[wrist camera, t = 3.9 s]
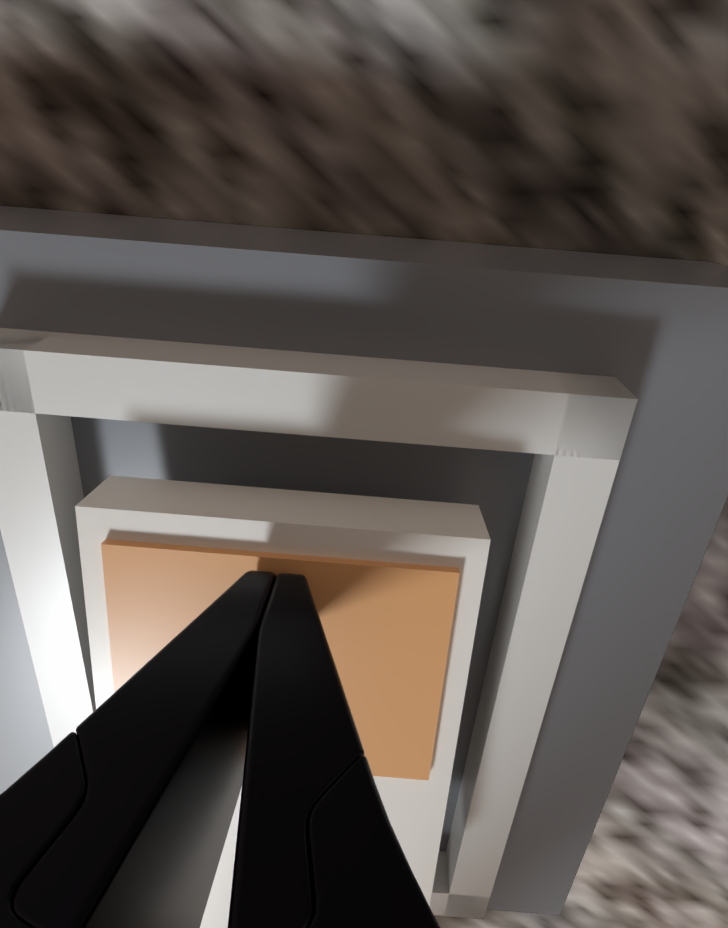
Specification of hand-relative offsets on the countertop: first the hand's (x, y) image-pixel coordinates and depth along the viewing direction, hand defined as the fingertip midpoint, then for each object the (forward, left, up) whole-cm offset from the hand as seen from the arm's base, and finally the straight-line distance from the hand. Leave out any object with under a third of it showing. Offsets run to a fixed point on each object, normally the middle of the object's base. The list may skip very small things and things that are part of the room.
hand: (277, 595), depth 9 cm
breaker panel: (-4, 0, -5) cm, 7 cm away
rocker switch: (-4, 0, -1) cm, 4 cm away
